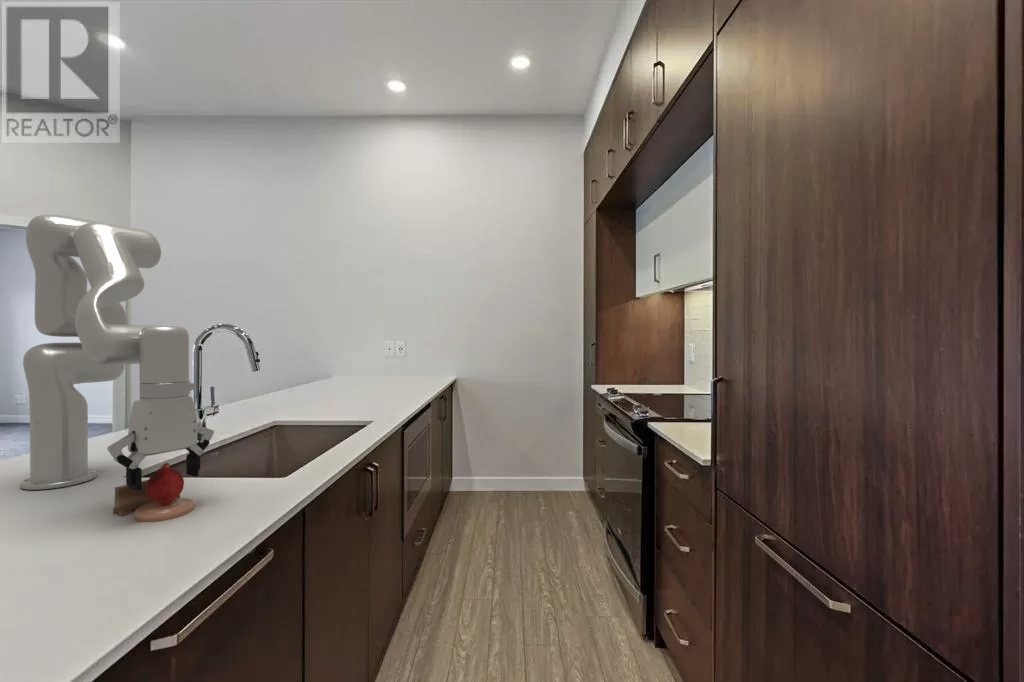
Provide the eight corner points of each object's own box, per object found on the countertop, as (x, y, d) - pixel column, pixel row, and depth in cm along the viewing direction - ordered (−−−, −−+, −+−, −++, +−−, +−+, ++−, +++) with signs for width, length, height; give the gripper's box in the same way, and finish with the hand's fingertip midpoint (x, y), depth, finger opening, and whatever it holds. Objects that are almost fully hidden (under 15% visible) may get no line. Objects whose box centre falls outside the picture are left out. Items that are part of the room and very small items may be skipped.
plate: (125, 515, 88) (125, 509, 88) (178, 501, 96) (178, 495, 96) (150, 525, 84) (149, 518, 84) (203, 509, 91) (203, 502, 91)
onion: (164, 512, 86) (163, 468, 86) (138, 510, 88) (137, 467, 87) (191, 500, 92) (190, 459, 92) (167, 499, 93) (166, 458, 93)
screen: (113, 513, 89) (113, 486, 89) (172, 497, 98) (172, 473, 98) (120, 516, 88) (120, 489, 88) (180, 499, 96) (179, 475, 96)
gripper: (202, 386, 99) (202, 468, 99) (98, 395, 84) (99, 491, 84) (223, 388, 95) (223, 473, 95) (118, 398, 80) (119, 499, 80)
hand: (165, 481), depth 90 cm, fingers open, 9 cm apart
